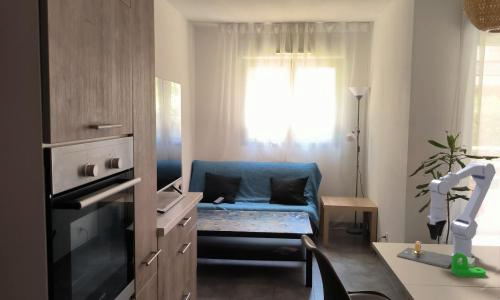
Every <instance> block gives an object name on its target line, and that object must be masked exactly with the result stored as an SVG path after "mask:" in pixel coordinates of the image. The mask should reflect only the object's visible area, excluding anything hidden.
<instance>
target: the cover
mask: <svg viewBox="0 0 500 300" xmlns="http://www.w3.org/2000/svg"><path fill="white" fill-rule="evenodd" d="M467 259H468V267H475V265H476V258H475V257H467ZM461 262H462V258H459V259H458V261H457V263H461Z"/></svg>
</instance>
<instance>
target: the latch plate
mask: <svg viewBox="0 0 500 300" xmlns="http://www.w3.org/2000/svg"><path fill="white" fill-rule="evenodd" d="M450 255H451V254H450ZM450 255H448V254H444V253H438V252H433V251H429V250H424V249H423V250H422V249H420V252H416V251H415V247H414V248H412V247H407V248H405V249H404V250H402V251H401V252H399V253H398V254H396V257H398V258H401V259H406V260H410V261H413V262H414V261H415V262H419V263H422V264H423V263H424V264H427V265H430V266H431V265H432V266H434V267H439V268H443V269H449V268H450V267H452V257H453V256H450Z"/></svg>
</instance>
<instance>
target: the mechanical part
mask: <svg viewBox="0 0 500 300" xmlns="http://www.w3.org/2000/svg"><path fill="white" fill-rule="evenodd" d="M459 258H462V262H461V263H457V261H458V259H459ZM450 267H451V269H450V271H451V272H452V274H454V275H455V276H457V277H464V278H467V277H468V278H470V277H471V278H484V277H486V274H487V272H486V270H485V269H484V268H482V267H475V266H474V267H468V259H467V257H466V256H465V255H464V254H462V253H456V254H454V255H453V257H452V265H451V266H450Z"/></svg>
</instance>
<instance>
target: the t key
mask: <svg viewBox="0 0 500 300" xmlns="http://www.w3.org/2000/svg"><path fill="white" fill-rule="evenodd" d="M414 249H415V251H416V252H420V250H422V241H420V240H415V244H414Z"/></svg>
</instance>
